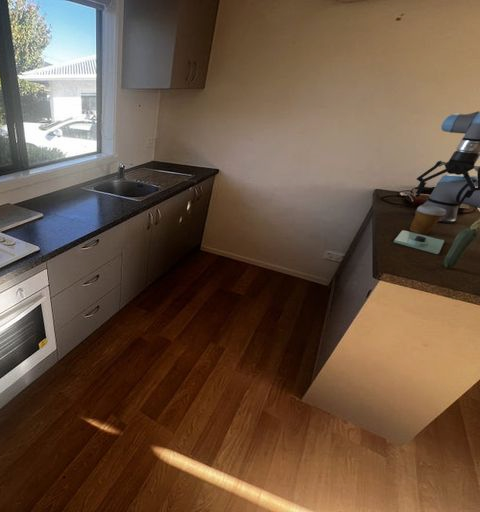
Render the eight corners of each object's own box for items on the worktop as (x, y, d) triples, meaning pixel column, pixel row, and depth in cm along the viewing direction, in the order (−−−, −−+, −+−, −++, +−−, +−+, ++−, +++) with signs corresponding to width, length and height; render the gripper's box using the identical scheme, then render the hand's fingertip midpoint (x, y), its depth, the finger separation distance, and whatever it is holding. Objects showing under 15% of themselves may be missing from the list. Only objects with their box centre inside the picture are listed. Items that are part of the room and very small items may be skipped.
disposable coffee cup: (437, 236, 135) (453, 212, 129) (414, 234, 136) (428, 210, 130) (422, 228, 143) (436, 205, 137) (399, 226, 144) (413, 203, 139)
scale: (401, 232, 139) (404, 226, 137) (442, 242, 129) (447, 236, 128) (393, 242, 128) (396, 236, 127) (437, 254, 119) (442, 248, 118)
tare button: (414, 238, 126) (417, 235, 125) (424, 241, 124) (426, 237, 123) (413, 240, 124) (416, 237, 123) (423, 243, 122) (425, 239, 121)
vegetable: (449, 271, 108) (486, 221, 98) (434, 265, 111) (468, 217, 101) (455, 269, 109) (491, 220, 99) (439, 263, 113) (473, 215, 103)
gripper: (425, 148, 128) (399, 194, 138) (515, 157, 111) (478, 209, 121) (428, 146, 132) (402, 192, 142) (515, 155, 115) (479, 206, 126)
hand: (437, 200), depth 132 cm, fingers open, 13 cm apart
